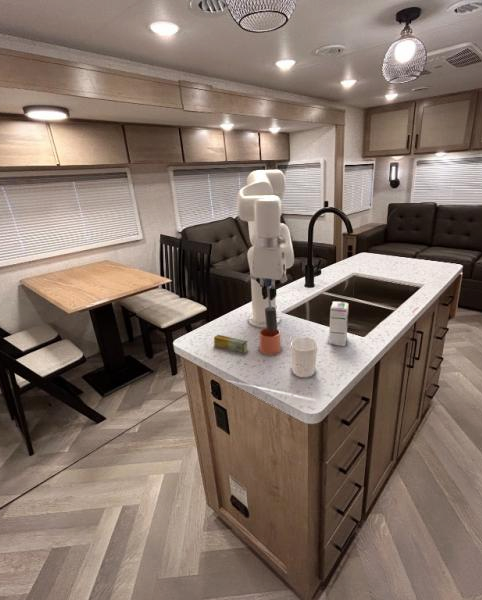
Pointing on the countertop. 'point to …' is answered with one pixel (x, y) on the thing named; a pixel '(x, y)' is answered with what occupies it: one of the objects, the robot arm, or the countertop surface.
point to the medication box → (230, 344)
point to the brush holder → (270, 341)
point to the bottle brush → (270, 310)
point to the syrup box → (338, 323)
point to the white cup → (303, 356)
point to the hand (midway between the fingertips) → (269, 297)
